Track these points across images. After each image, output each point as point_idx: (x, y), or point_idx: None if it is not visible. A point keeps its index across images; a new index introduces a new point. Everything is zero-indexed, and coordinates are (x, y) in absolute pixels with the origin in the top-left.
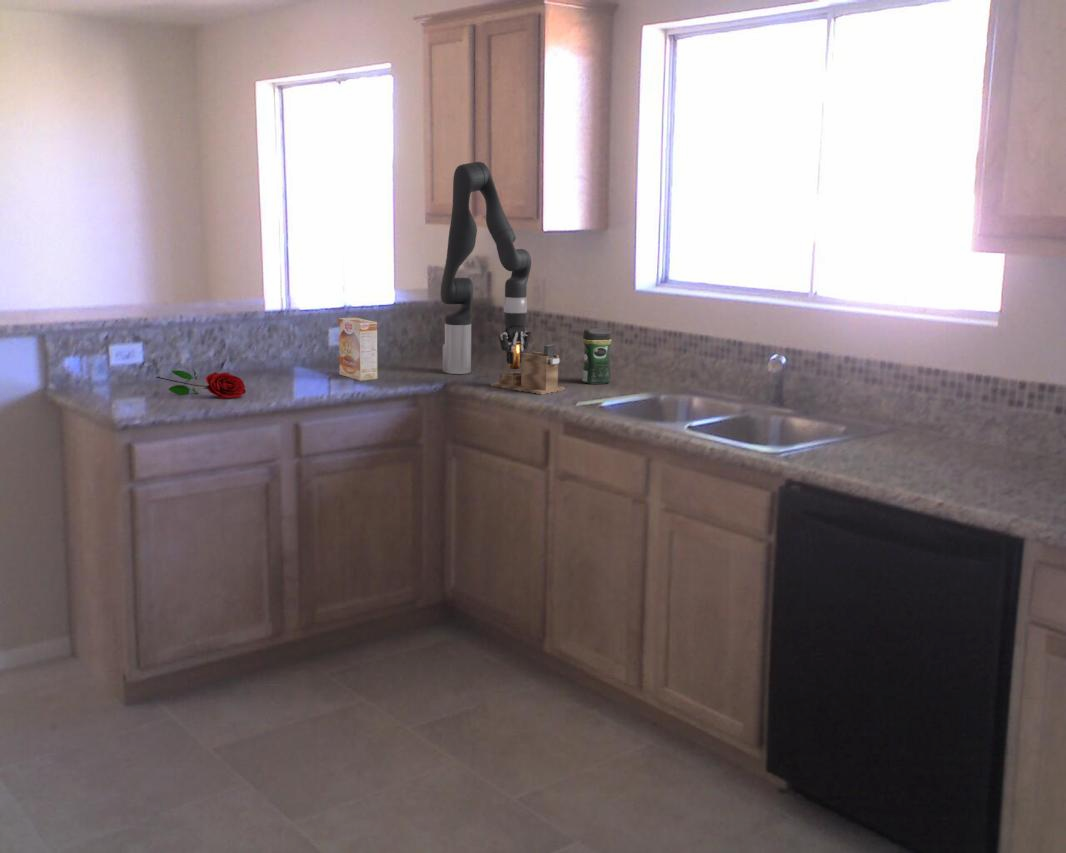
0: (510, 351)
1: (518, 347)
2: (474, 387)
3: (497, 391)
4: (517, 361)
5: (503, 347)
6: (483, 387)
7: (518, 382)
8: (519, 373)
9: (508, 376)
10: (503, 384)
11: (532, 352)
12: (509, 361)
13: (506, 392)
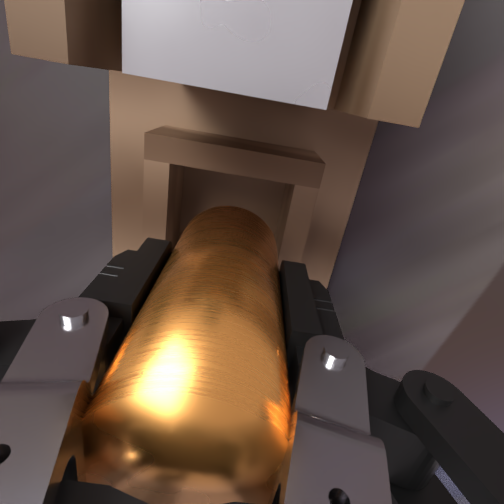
0: (359, 361)
1: (211, 348)
2: (397, 336)
3: (465, 184)
4: (244, 238)
5: (425, 484)
6: (374, 306)
7: (283, 148)
8: (166, 223)
9: (306, 232)
10: (322, 233)
11: (73, 55)
12: (323, 290)
13: (478, 115)
